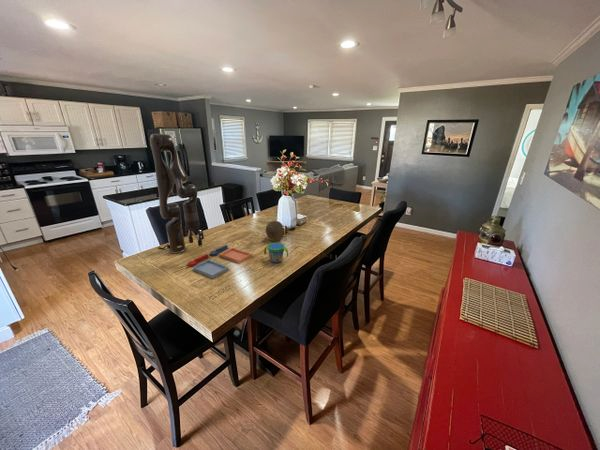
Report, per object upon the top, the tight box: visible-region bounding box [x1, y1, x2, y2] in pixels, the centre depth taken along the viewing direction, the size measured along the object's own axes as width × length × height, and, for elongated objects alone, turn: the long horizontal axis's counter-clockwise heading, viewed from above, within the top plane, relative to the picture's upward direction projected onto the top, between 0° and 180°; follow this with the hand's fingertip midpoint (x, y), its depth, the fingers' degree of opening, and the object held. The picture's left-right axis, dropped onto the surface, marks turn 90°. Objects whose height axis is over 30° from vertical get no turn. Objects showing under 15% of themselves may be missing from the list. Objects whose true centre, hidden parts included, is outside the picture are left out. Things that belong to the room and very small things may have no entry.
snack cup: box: [263, 242, 289, 264], centre depth 150 cm, size 16×10×10 cm
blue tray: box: [192, 258, 229, 279], centre depth 140 cm, size 17×11×2 cm, turn 58°
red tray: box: [219, 247, 253, 264], centre depth 156 cm, size 17×11×2 cm, turn 58°
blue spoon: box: [209, 244, 229, 257], centre depth 162 cm, size 13×5×3 cm, turn 148°
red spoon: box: [187, 253, 209, 268], centre depth 149 cm, size 13×5×3 cm, turn 148°
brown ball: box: [265, 220, 285, 242], centre depth 179 cm, size 14×14×15 cm
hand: (195, 244), depth 145 cm, fingers open, 8 cm apart
